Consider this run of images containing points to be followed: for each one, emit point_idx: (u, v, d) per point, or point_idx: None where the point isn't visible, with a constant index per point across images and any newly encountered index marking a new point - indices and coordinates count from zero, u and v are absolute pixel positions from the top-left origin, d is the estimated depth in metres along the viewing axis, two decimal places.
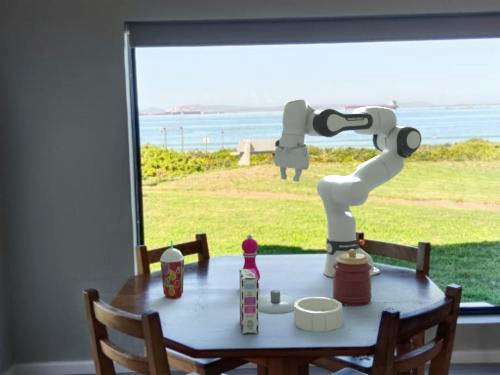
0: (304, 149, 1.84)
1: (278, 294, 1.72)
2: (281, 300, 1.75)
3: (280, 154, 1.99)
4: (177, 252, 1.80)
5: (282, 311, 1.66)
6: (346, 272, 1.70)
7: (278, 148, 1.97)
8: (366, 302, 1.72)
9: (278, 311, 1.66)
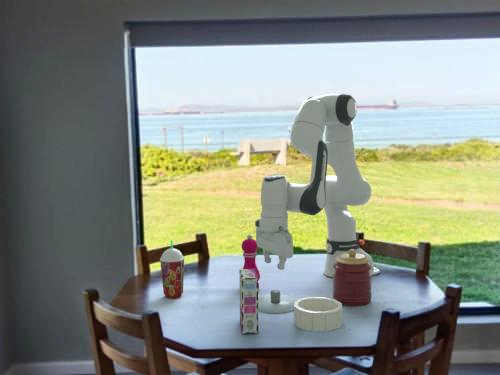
0: (287, 235, 1.62)
1: (278, 294, 1.72)
2: (281, 300, 1.75)
3: (261, 234, 1.76)
4: (177, 252, 1.80)
5: (282, 311, 1.66)
6: (346, 272, 1.70)
7: (259, 229, 1.75)
8: (366, 302, 1.72)
9: (278, 311, 1.66)
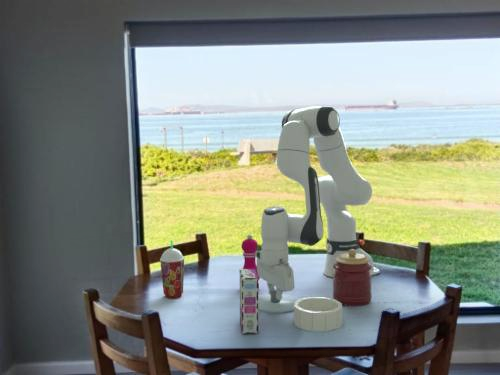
0: (287, 269, 1.63)
1: None
2: (281, 299, 1.75)
3: (262, 265, 1.77)
4: (177, 252, 1.80)
5: (282, 310, 1.66)
6: (346, 272, 1.70)
7: (259, 260, 1.76)
8: (366, 302, 1.72)
9: (278, 310, 1.65)
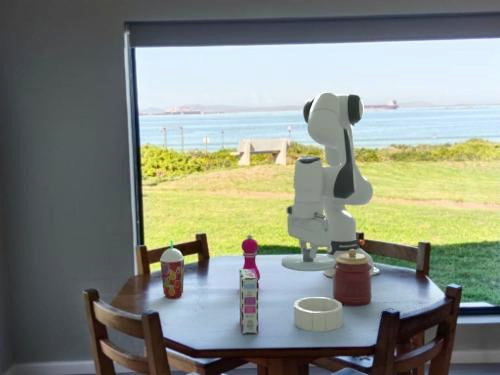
0: (324, 222, 1.47)
1: None
2: (314, 259, 1.59)
3: (293, 222, 1.62)
4: (177, 252, 1.80)
5: (317, 268, 1.50)
6: (346, 272, 1.70)
7: (291, 216, 1.60)
8: (366, 302, 1.72)
9: (312, 268, 1.50)
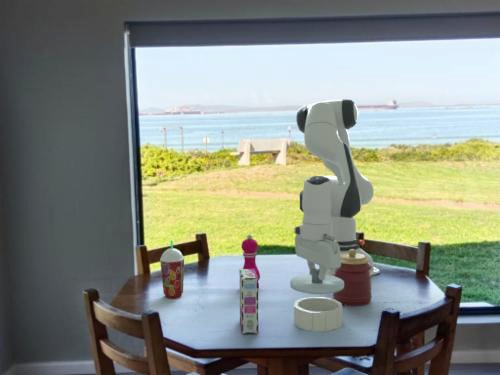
0: (334, 244, 1.45)
1: None
2: (323, 280, 1.57)
3: (301, 242, 1.60)
4: (177, 252, 1.80)
5: (327, 291, 1.48)
6: (346, 272, 1.70)
7: (299, 236, 1.58)
8: (366, 302, 1.72)
9: (322, 291, 1.48)
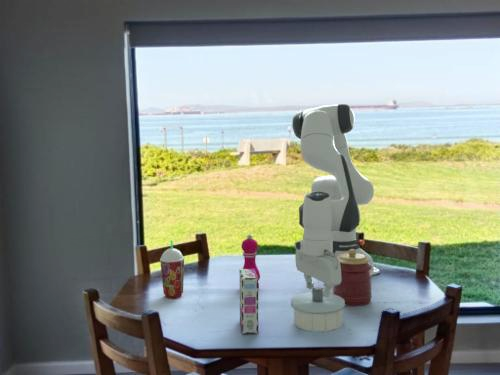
0: (334, 261, 1.46)
1: (321, 292, 1.55)
2: (323, 298, 1.58)
3: (302, 257, 1.60)
4: (177, 252, 1.80)
5: (327, 310, 1.49)
6: (346, 272, 1.70)
7: (299, 251, 1.59)
8: (366, 302, 1.72)
9: (323, 311, 1.48)
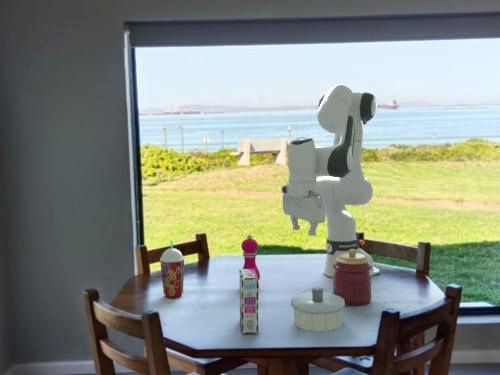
0: (318, 200, 1.55)
1: (321, 292, 1.55)
2: (323, 298, 1.58)
3: (288, 201, 1.70)
4: (177, 252, 1.80)
5: (327, 310, 1.49)
6: (346, 272, 1.70)
7: (286, 195, 1.68)
8: (366, 302, 1.72)
9: (323, 311, 1.48)
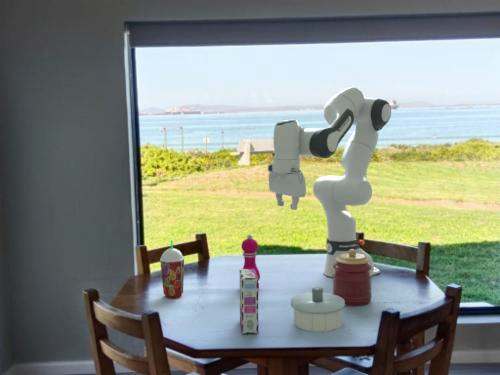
0: (299, 175, 1.69)
1: (321, 292, 1.55)
2: (323, 298, 1.58)
3: (274, 179, 1.83)
4: (177, 252, 1.80)
5: (327, 310, 1.49)
6: (346, 272, 1.70)
7: (271, 173, 1.82)
8: (366, 302, 1.72)
9: (323, 311, 1.48)
